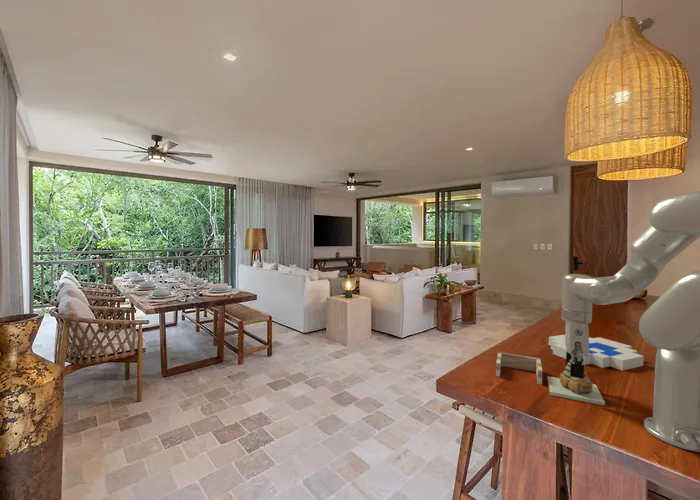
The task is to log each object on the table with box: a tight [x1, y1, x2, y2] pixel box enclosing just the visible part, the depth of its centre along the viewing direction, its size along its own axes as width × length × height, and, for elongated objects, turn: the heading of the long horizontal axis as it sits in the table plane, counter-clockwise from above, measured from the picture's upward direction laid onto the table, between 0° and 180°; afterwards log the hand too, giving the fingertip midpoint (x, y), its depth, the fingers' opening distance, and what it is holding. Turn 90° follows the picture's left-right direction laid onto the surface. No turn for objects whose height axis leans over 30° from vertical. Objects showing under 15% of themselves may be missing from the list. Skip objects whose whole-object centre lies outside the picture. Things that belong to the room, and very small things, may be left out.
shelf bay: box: [495, 351, 543, 385], centre depth 112 cm, size 12×13×4 cm
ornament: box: [559, 356, 594, 393], centre depth 98 cm, size 8×6×10 cm
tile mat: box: [546, 375, 606, 406], centre depth 99 cm, size 12×13×1 cm
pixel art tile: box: [548, 334, 645, 371], centre depth 129 cm, size 28×4×28 cm
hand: (574, 371), depth 99 cm, fingers open, 9 cm apart
